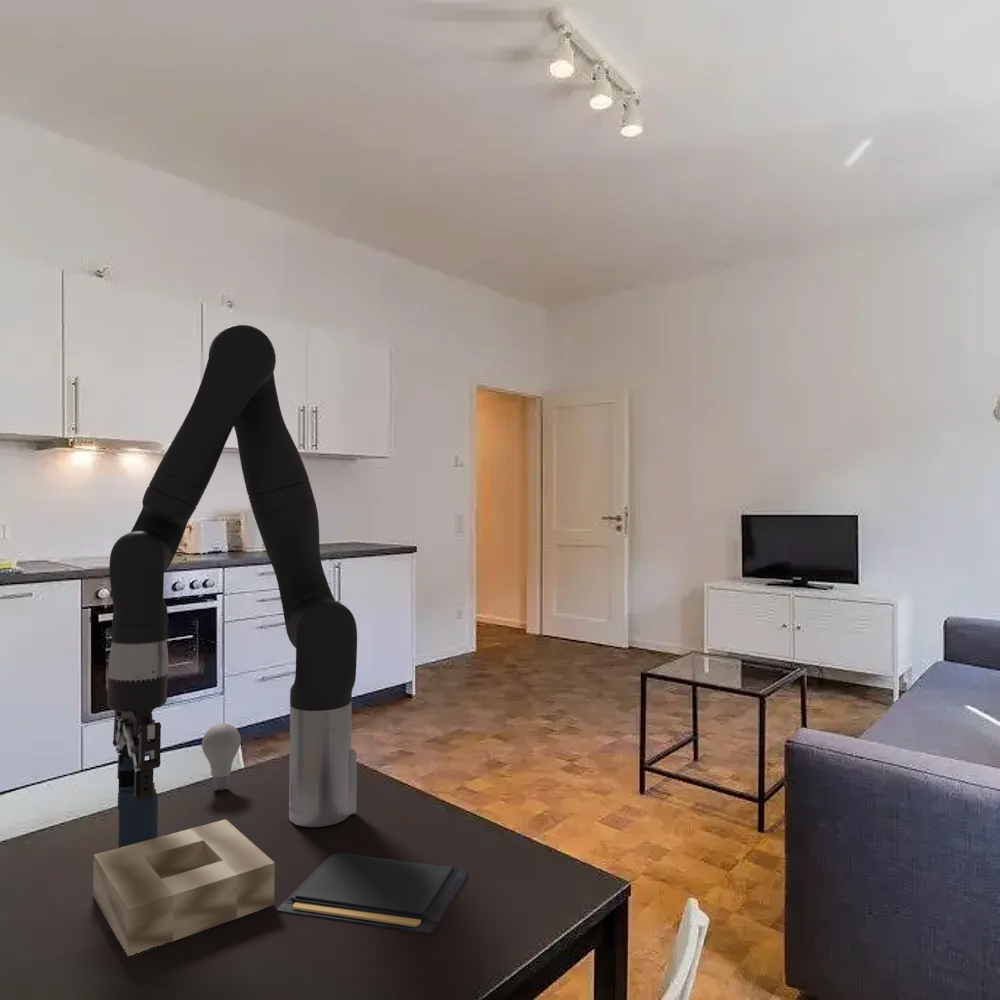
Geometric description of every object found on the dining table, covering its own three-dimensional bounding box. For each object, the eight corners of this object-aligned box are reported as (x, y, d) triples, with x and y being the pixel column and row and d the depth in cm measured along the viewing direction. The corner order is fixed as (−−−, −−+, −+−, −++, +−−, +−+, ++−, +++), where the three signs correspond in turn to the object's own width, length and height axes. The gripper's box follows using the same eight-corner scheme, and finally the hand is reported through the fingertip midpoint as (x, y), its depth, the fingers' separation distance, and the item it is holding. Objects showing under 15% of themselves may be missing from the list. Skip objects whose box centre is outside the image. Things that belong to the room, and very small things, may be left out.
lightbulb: (227, 798, 120) (227, 730, 120) (193, 795, 121) (194, 728, 121) (247, 784, 126) (248, 720, 126) (215, 782, 127) (215, 717, 127)
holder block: (225, 856, 100) (225, 819, 100) (274, 904, 88) (274, 862, 88) (93, 896, 90) (93, 854, 90) (127, 957, 77) (128, 909, 77)
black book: (472, 863, 96) (430, 927, 81) (472, 877, 96) (430, 944, 81) (333, 843, 101) (270, 900, 86) (333, 857, 101) (270, 916, 86)
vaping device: (121, 839, 105) (122, 754, 105) (160, 838, 105) (161, 753, 106) (113, 847, 102) (114, 760, 103) (153, 846, 103) (154, 759, 103)
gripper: (182, 678, 101) (178, 797, 101) (151, 661, 112) (148, 769, 111) (123, 685, 96) (118, 810, 96) (96, 666, 107) (92, 779, 106)
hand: (134, 788), depth 104 cm, fingers open, 8 cm apart
